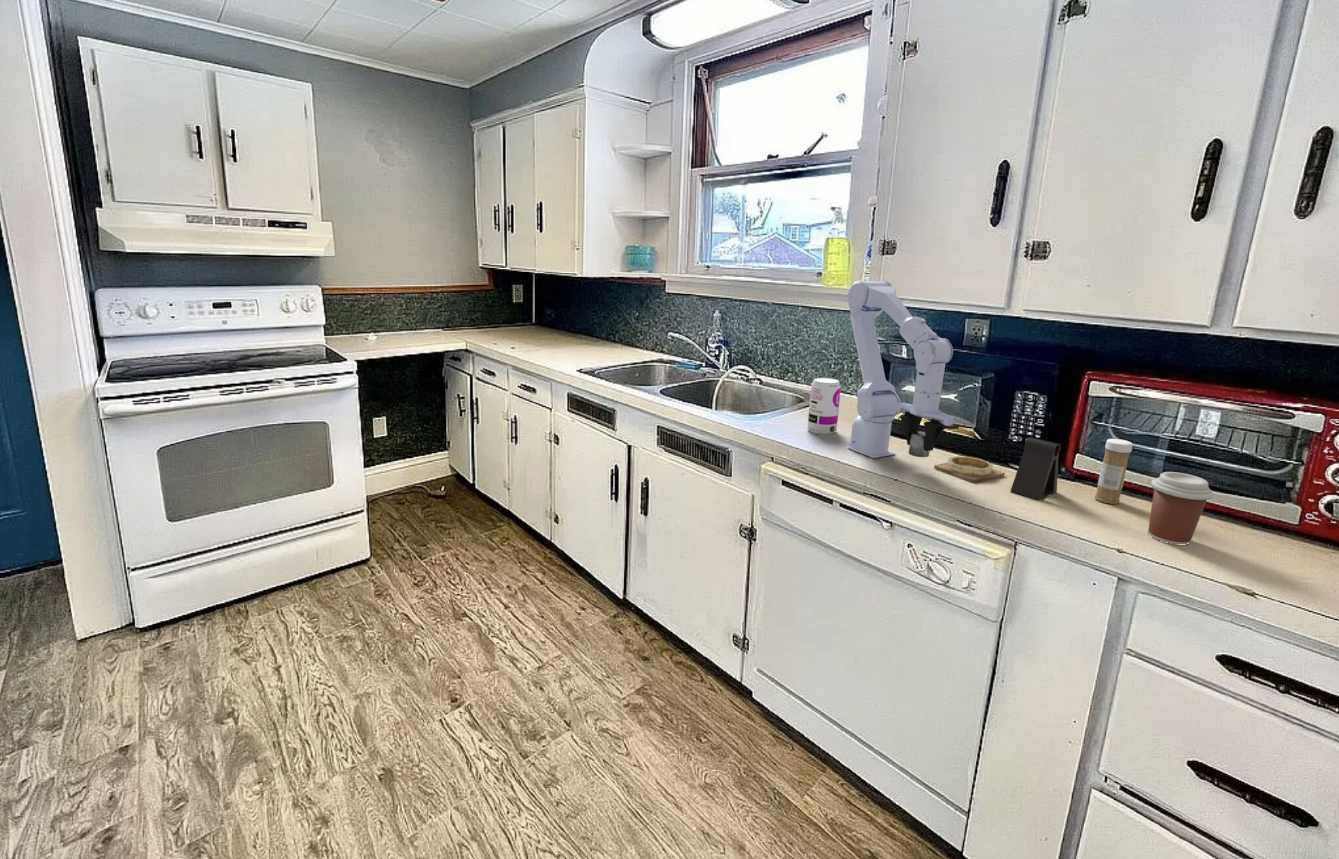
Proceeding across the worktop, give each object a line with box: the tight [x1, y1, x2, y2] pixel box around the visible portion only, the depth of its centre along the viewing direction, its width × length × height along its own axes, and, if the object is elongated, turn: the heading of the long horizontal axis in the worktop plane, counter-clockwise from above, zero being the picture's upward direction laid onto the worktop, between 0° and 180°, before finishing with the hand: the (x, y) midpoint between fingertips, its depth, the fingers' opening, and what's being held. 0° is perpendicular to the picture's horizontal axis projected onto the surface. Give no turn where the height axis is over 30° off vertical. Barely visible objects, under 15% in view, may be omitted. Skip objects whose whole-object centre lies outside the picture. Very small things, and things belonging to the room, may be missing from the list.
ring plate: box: [933, 455, 1006, 484], centre depth 153 cm, size 11×11×2 cm
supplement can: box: [807, 377, 842, 436], centre depth 183 cm, size 8×8×15 cm
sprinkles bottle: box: [1094, 438, 1134, 505], centre depth 136 cm, size 5×5×13 cm
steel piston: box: [908, 430, 930, 458], centre depth 152 cm, size 5×5×5 cm
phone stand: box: [1009, 436, 1061, 501], centre depth 140 cm, size 9×6×12 cm, turn 127°
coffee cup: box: [1147, 471, 1214, 545], centre depth 119 cm, size 9×9×12 cm
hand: (919, 447), depth 152 cm, fingers closed on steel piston, 5 cm apart
